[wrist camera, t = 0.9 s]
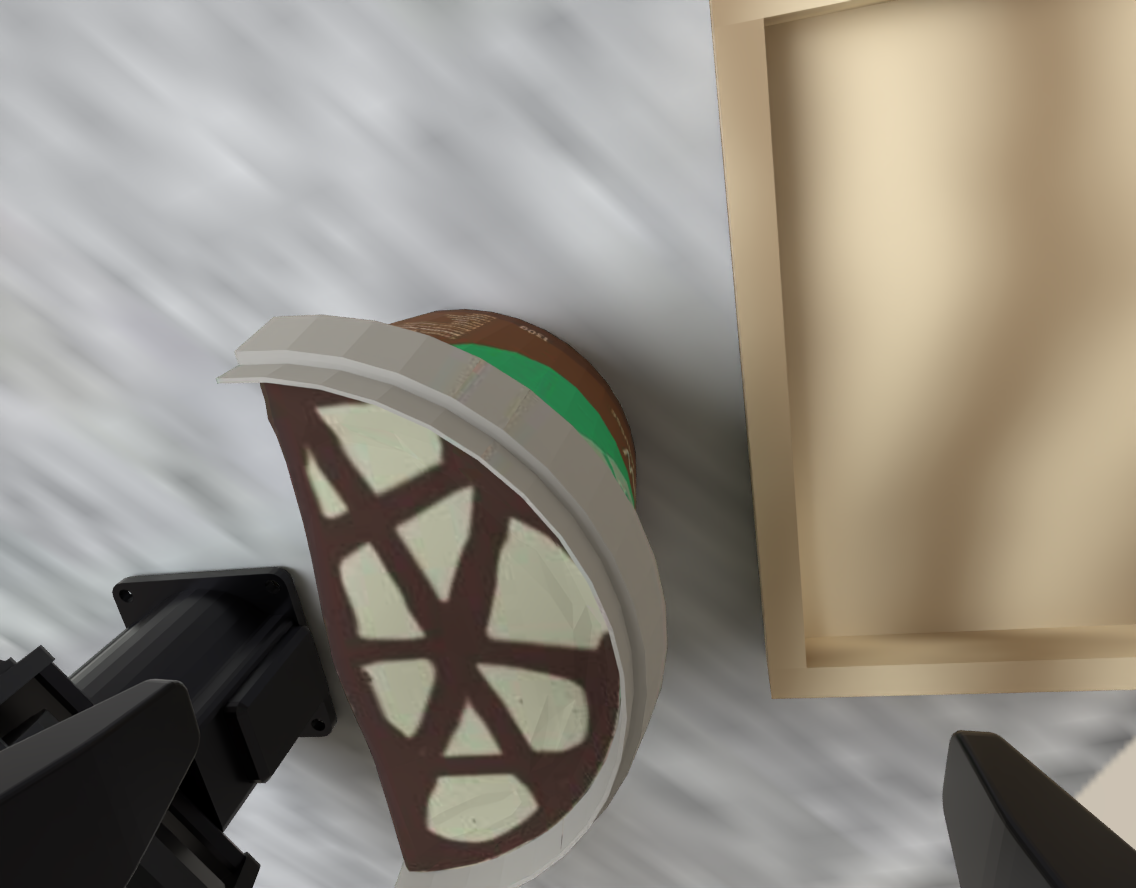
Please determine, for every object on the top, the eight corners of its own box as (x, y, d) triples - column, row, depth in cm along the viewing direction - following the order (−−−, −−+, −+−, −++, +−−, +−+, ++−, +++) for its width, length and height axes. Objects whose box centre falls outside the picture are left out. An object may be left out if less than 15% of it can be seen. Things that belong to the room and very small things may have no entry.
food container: (698, 634, 24) (698, 946, 14) (506, 642, 25) (392, 933, 16) (651, 223, 20) (608, 292, 10) (423, 256, 21) (204, 344, 12)
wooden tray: (765, 655, 23) (771, 698, 22) (708, -9, 17) (709, -27, 16) (1216, 638, 21) (1266, 686, 19) (1329, -140, 15) (1417, -180, 13)
